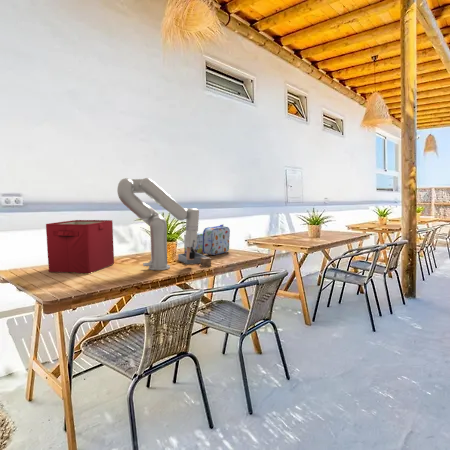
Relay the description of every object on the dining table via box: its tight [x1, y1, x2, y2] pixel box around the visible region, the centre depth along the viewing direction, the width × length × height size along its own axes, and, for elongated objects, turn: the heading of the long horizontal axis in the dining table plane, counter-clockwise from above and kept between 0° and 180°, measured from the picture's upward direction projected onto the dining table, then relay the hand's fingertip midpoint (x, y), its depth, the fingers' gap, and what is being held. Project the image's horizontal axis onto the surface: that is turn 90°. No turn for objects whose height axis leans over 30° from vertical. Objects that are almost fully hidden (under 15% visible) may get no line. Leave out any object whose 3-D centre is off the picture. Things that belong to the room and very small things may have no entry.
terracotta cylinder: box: [186, 247, 194, 260], centre depth 206 cm, size 5×5×7 cm
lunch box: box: [202, 224, 231, 256], centre depth 253 cm, size 28×10×22 cm, turn 149°
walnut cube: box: [200, 256, 212, 268], centre depth 209 cm, size 5×5×5 cm
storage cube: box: [45, 219, 115, 274], centre depth 203 cm, size 32×28×29 cm
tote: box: [177, 253, 207, 265], centre depth 224 cm, size 14×18×4 cm
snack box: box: [183, 232, 204, 254], centre depth 257 cm, size 21×6×15 cm, turn 143°
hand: (190, 257), depth 206 cm, fingers closed on terracotta cylinder, 5 cm apart
